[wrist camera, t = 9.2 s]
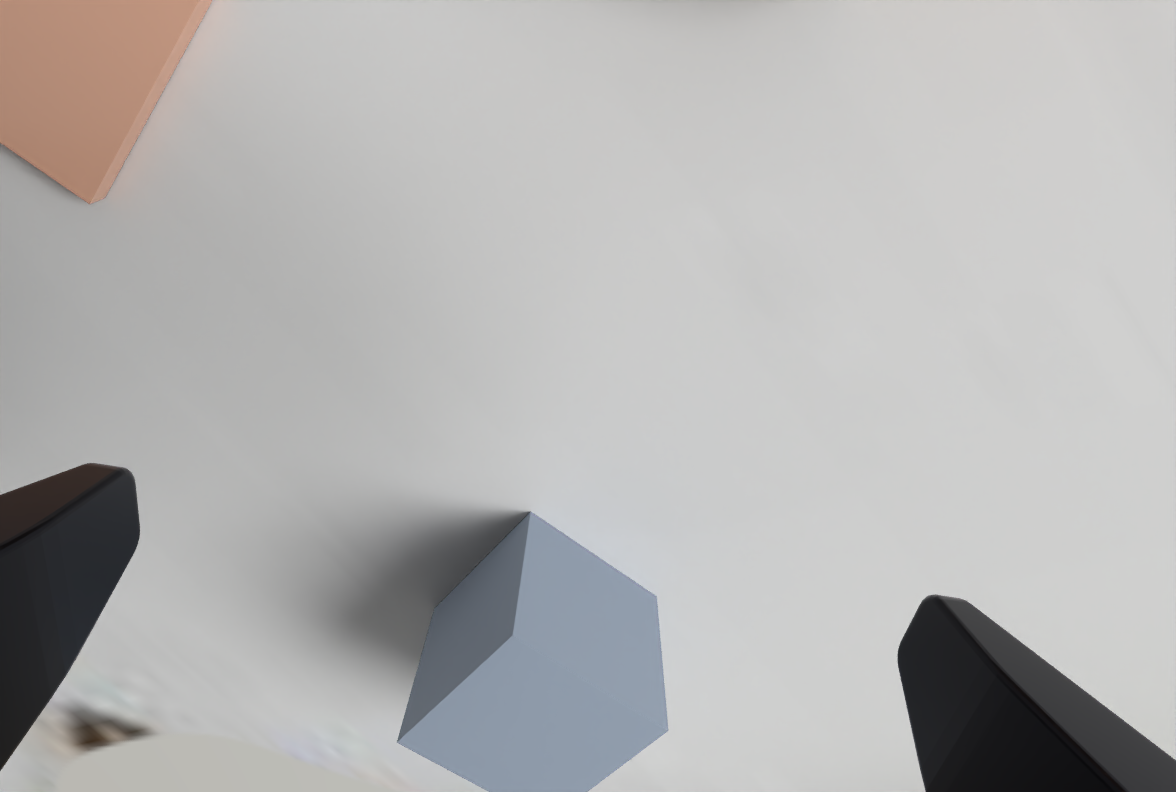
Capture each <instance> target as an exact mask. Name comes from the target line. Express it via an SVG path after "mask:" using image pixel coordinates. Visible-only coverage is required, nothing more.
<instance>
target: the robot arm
mask: <svg viewBox="0 0 1176 792" xmlns="http://www.w3.org/2000/svg"><path fill="white" fill-rule="evenodd" d="M139 535H140V524H139V514H138V504H137V494H136V484H135V479H134V476H133V474H132V473H131V472H130V471H129V470H128V469H126V468H123V467H116V466H110V465H104V464H97V463H87V464H84V465H81V466H78V467H76V468H73V469H70V470H67V471H65V472H62V473H59V474H56V475H54V476H51V477H48V478H45V479H43V480H40V481H37V482H35V483H32V484H29V485H26V486H24V487H21V488H18V489H15V490H13V491H10V492H7V493H4V494H2V495H0V771H1V769H2V768H3V766H4V765H5V764H6V762H7V761H8V759H9V758H10V756H11V755H12V754H13V752H14V751H15V749H16V748H17V746H18V745H19V743H20V742H21V741H22V739H23V738H24V736H25V735H26V733H27V732H28V731H29V729H30V728H31V726H32V725H33V723H34V722H35V721H36V719H37V718H38V716H39V715H40V713H41V712H42V710H43V709H44V708H45V706H46V705H47V703H48V702H49V700H50V699H51V698H52V696H53V695H54V693H55V692H56V690H57V689H58V687H59V685H60V684H61V682H62V681H63V679H64V678H65V676H66V675H67V673H68V671H69V670H70V668H71V666H72V665H73V663H74V661H75V660H76V658H77V656H78V654H79V653H80V651H81V649H82V647H83V645H84V643H85V642H86V640H87V638H88V636H89V634H90V632H91V631H92V629H93V627H94V625H95V623H96V622H97V620H98V618H99V616H100V614H101V612H102V611H103V609H104V607H105V605H106V603H107V601H108V600H109V598H110V596H111V594H112V592H113V591H114V589H115V587H116V585H117V583H118V581H119V580H120V578H121V576H122V574H123V572H124V570H125V569H126V567H127V565H128V563H129V561H130V559H131V558H132V556H133V554H134V552H135V550H136V547H137V544H138V541H139ZM898 668H899V672H900V677H901V682H902V686H903V691H904V696H905V700H906V705H907V710H908V714H909V719H910V724H911V728H912V733H913V738H914V742H915V747H916V752H917V756H918V761H919V766H920V770H921V774H922V778H923V782H924V786H925V790H926V792H1176V760H1175V759H1173V758H1172V757H1171V756H1169V755H1168V754H1167V753H1165V752H1164V751H1163V750H1162V749H1160V748H1159V747H1158V746H1156V745H1155V744H1154V743H1152V742H1151V741H1150V740H1148V739H1147V738H1146V737H1145V736H1143V735H1142V734H1141V733H1139V732H1138V731H1137V730H1135V729H1134V728H1133V727H1131V726H1130V725H1129V724H1127V723H1126V722H1125V721H1124V720H1122V719H1121V718H1120V717H1118V716H1117V715H1116V714H1114V713H1113V712H1112V711H1110V710H1109V709H1108V708H1107V707H1105V706H1104V705H1103V704H1101V703H1100V702H1099V701H1097V700H1096V699H1095V698H1093V697H1092V696H1091V695H1089V694H1088V693H1087V692H1086V691H1084V690H1083V689H1082V688H1080V687H1079V686H1078V685H1076V684H1075V683H1074V682H1072V681H1071V680H1070V679H1068V678H1067V677H1066V676H1065V675H1063V674H1062V673H1061V672H1059V671H1058V670H1057V669H1055V668H1054V667H1053V666H1051V665H1050V664H1049V663H1048V662H1046V661H1045V660H1044V659H1042V658H1041V657H1040V656H1038V655H1037V654H1036V653H1034V652H1033V651H1032V650H1030V649H1029V648H1028V647H1027V646H1025V645H1024V644H1023V643H1021V642H1020V641H1019V640H1017V639H1016V638H1015V637H1013V636H1012V635H1011V634H1010V633H1008V632H1007V631H1006V630H1004V629H1003V628H1002V627H1000V626H999V625H998V624H996V623H995V622H994V621H992V620H991V619H990V618H989V617H987V616H986V615H985V614H983V613H982V612H981V611H979V610H978V609H977V608H975V607H974V606H973V605H972V604H970V603H969V602H967V601H965V600H963V599H960V598H954V597H947V596H941V595H930V596H927V597H926V598H925V599H924V600H923V601H922V602H921V604H920V606H919V608H918V609H917V611H916V613H915V615H914V617H913V619H912V621H911V623H910V625H909V627H908V629H907V631H906V633H905V635H904V637H903V639H902V641H901V643H900V646H899V649H898Z"/></svg>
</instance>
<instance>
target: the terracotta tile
mask: <svg viewBox="0 0 1176 792" xmlns="http://www.w3.org/2000/svg"><path fill="white" fill-rule="evenodd" d="M211 2H212V0H0V143H1V144H3V145H4V146H6V147H7V148H9V149H10V150H11V151H13V152H14V153H16V154H17V155H19V156H20V157H22V158H23V159H25V160H26V161H27V162H29V163H30V164H32V165H33V166H35V167H36V168H38V169H39V170H41V171H42V172H43V173H45V174H46V175H48V176H49V177H51V178H52V179H54V180H55V181H57V182H58V183H59V184H61V185H62V186H64V187H65V188H67V189H68V190H70V191H71V192H73V193H74V194H75V195H77V196H78V197H80V198H81V199H83V200H84V201H86V202H87V203H89V204H92V203H94V202H97V201H99V200H102V199H104V198H105V197H106V195H107V193H108V191H109V189H110V188H111V186H112V184H113V182H114V180H115V178H116V177H117V175H118V173H119V171H120V169H121V167H122V166H123V164H124V162H125V160H126V158H127V156H128V155H129V153H130V151H131V149H132V147H133V145H134V144H135V142H136V140H137V138H138V136H139V134H140V133H141V131H142V129H143V127H144V125H145V123H146V121H147V120H148V118H149V116H150V114H151V112H152V110H153V109H154V107H155V105H156V103H157V101H158V99H159V98H160V96H161V94H162V92H163V90H164V88H165V87H166V85H167V83H168V81H169V79H170V77H171V76H172V74H173V72H174V70H175V68H176V66H177V65H178V63H179V61H180V59H181V57H182V55H183V54H184V52H185V50H186V48H187V46H188V44H189V43H190V41H191V39H192V37H193V35H194V33H195V31H196V30H197V28H198V26H199V24H200V22H201V20H202V19H203V17H204V15H205V13H206V11H207V9H208V8H209V6H210V4H211Z"/></svg>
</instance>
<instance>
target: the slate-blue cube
mask: <svg viewBox="0 0 1176 792" xmlns="http://www.w3.org/2000/svg"><path fill="white" fill-rule="evenodd" d="M667 731H668V722H667V710H666V699H665V687H664V676H663V664H662V653H661V641H660V630H659V618H658V606H657V596H655V595H654V594H652V593H651V592H649V591H648V590H646V589H645V588H643V587H642V586H641V585H639V584H638V583H636V582H635V581H633V580H632V579H630V578H629V577H627V576H626V575H624V574H623V573H621V572H620V571H618V570H617V569H615V568H614V567H612V566H611V565H609V564H608V563H606V562H605V561H603V560H602V559H601V558H599V557H598V556H596V555H595V554H593V553H592V552H590V551H589V550H587V549H586V548H584V547H583V546H581V545H580V544H578V543H577V542H575V541H574V540H572V539H571V538H569V537H568V536H566V535H565V534H563V533H562V532H561V531H559V530H558V529H556V528H555V527H553V526H552V525H550V524H549V523H547V522H546V521H544V520H543V519H541V518H540V517H538V516H537V515H535V514H534V513H532V512H530V513H529V514H528V515H527V516H526V517H525V518H524V519H523V520H522V521H521V522H520V523H519V524H518V525H517V526H516V527H515V528H514V529H513V530H512V531H511V532H510V533H509V534H508V535H507V536H506V537H505V538H504V539H503V540H502V541H501V542H500V543H499V544H498V545H497V546H496V547H495V548H494V549H493V550H492V551H491V552H490V553H489V554H488V555H487V556H486V557H485V558H484V559H483V560H482V561H481V562H480V563H479V564H478V565H477V566H476V567H475V568H474V569H473V570H472V571H471V572H470V573H469V574H468V575H467V576H466V577H465V578H464V579H463V580H462V581H461V582H460V583H459V584H458V585H457V586H456V587H455V588H454V589H453V590H452V591H451V592H450V593H449V594H448V595H447V596H446V597H445V599H444V600H443V601H442V602H441V603H440V604H439V605H438V606H437V607H436V608H435V609H434V612H433V615H432V619H431V623H430V626H429V630H428V633H427V637H426V640H425V644H424V647H423V651H422V655H421V658H420V662H419V665H418V669H417V672H416V676H415V680H414V683H413V687H412V690H411V694H410V697H409V701H408V704H407V708H406V712H405V715H404V719H403V722H402V726H401V729H400V733H399V737H398V740H397V743H399V744H401V745H402V746H404V747H406V748H408V749H410V750H412V751H414V752H416V753H417V754H419V755H421V756H423V757H425V758H427V759H429V760H431V761H432V762H434V763H436V764H438V765H440V766H442V767H444V768H446V769H447V770H449V771H451V772H453V773H455V774H457V775H459V776H461V777H462V778H464V779H466V780H468V781H470V782H472V783H474V784H476V785H477V786H479V787H481V788H483V789H485V790H487V791H489V792H588V791H589V790H590V789H592V788H593V787H594V786H596V785H597V784H598V783H600V782H601V781H602V780H604V779H605V778H606V777H607V776H609V775H610V774H611V773H613V772H614V771H615V770H617V769H618V768H619V767H621V766H622V765H623V764H625V763H626V762H627V761H629V760H630V759H631V758H633V757H634V756H635V755H637V754H638V753H639V752H641V751H642V750H643V749H645V748H646V747H647V746H649V745H650V744H651V743H653V742H654V741H655V740H657V739H658V738H659V737H660V736H662V735H663V734H664V733H666V732H667Z"/></svg>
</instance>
